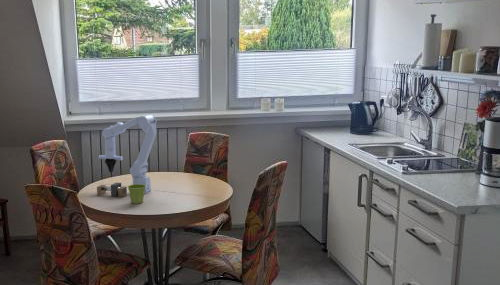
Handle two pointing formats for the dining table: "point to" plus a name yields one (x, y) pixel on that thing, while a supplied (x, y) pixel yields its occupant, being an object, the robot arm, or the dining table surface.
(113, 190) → the gray square nut
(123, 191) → the brown dumbbell
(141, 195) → the plant pot
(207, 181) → the dining table surface
